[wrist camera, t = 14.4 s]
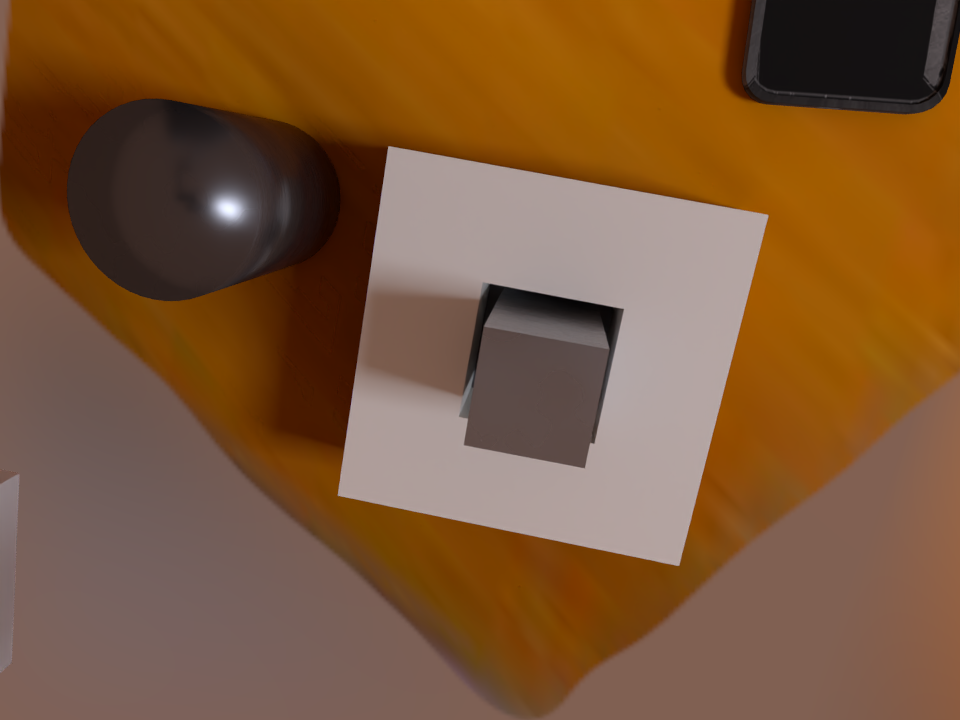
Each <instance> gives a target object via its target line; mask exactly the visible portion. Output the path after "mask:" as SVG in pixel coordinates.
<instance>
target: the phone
mask: <svg viewBox="0 0 960 720" xmlns="http://www.w3.org/2000/svg"><path fill="white" fill-rule="evenodd" d="M959 34H960V0H752V5H751V12H750V19H749V26H748V33H747V40H746V47H745V54H744V61H743V68H742V83H743V86H744V89H745V91H746V92H747V94H748V95H749V96H750V97H751V98H752V99H754V100H755V101H757V102H759V103H763V104H769V105H783V106H797V107H811V108H824V109H838V110H852V111H866V112H880V113H894V114H915V113H920V112H924V111H926V110H929V109H931V108H933V107H934V106H935V105H937V104H938V103H939V102H940V101H941V100H942V99H943V97H944V96H945V94H946V93H947V90H948V87H949V84H950V79H951V74H952V69H953V64H954V59H955V54H956V49H957V44H958V39H959Z"/></svg>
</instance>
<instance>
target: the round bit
mask: <svg viewBox="0 0 960 720" xmlns="http://www.w3.org/2000/svg"><path fill="white" fill-rule="evenodd" d="M67 200H68V208H69V213H70V217H71V221H72V225H73V227H74V230H75V233H76V235H77V238H78V239H79V241H80V243H81V245H82V247H83V249H84V250H85V252H86V253H87V255H88V256H89V258H90V259H91V260H92V261H93V263H94V264H95V265H96V266H97V267H98V268H99V269H100V270H101V271H102V272H103V273H104V274H105V275H106V276H107V277H108V278H110V279H111V280H112V281H114V282H115V283H116V284H118V285H119V286H121V287H123V288H125V289H126V290H128V291H130V292H133V293H135V294H138V295H140V296H143V297H147V298H151V299H155V300H163V301H180V300H187V299H192V298H195V297H198V296H202V295H205V294H208V293H211V292H214V291H217V290H220V289H223V288H226V287H229V286H232V285H235V284H238V283H241V282H244V281H247V280H250V279H253V278H256V277H259V276H262V275H265V274H268V273H271V272H274V271H277V270H280V269H283V268H286V267H289V266H292V265H296V264H298V263H300V262H302V261H305V260H306V259H308V258H310V257H311V256H313V255H314V254H315V253H316V252H317V251H319V250H320V249H321V247H322V246H323V245H324V244H325V243H326V242H327V240H328V239H329V237H330V236H331V234H332V232H333V230H334V228H335V225H336V222H337V219H338V215H339V210H340V187H339V182H338V178H337V174H336V171H335V169H334V166H333V164H332V162H331V160H330V158H329V157H328V155H327V154H326V152H325V151H324V150H323V148H322V147H321V146H320V145H319V144H318V143H317V142H316V141H315V140H314V139H313V138H312V137H311V136H310V135H308V134H307V133H306V132H304V131H302V130H301V129H299V128H297V127H295V126H292V125H290V124H287V123H284V122H280V121H275V120H270V119H265V118H260V117H255V116H249V115H244V114H239V113H234V112H229V111H224V110H218V109H213V108H208V107H203V106H198V105H192V104H187V103H182V102H177V101H172V100H164V99H143V100H137V101H132V102H129V103H126V104H123V105H120V106H118V107H116V108H114V109H112V110H111V111H109V112H107V113H106V114H105V115H103V116H102V117H100V118H99V119H98V120H97V121H96V122H95V123H94V124H93V125H92V126H91V127H90V128H89V129H88V131H87V132H86V133H85V135H84V136H83V137H82V139H81V141H80V143H79V144H78V146H77V148H76V150H75V153H74V155H73V158H72V161H71V165H70V169H69V173H68V182H67Z"/></svg>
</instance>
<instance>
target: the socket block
mask: <svg viewBox="0 0 960 720" xmlns="http://www.w3.org/2000/svg"><path fill="white" fill-rule="evenodd" d="M767 219H768V215H765V214H760V213H755V212H750V211H745V210H739V209H734V208H728V207H723V206H717V205H712V204H706V203H701V202H695V201H690V200H684V199H679V198H673V197H668V196H662V195H657V194H651V193H646V192H640V191H635V190H629V189H624V188H618V187H612V186H607V185H601V184H596V183H590V182H585V181H579V180H574V179H568V178H563V177H557V176H552V175H546V174H541V173H535V172H530V171H524V170H519V169H513V168H508V167H502V166H497V165H491V164H486V163H480V162H475V161H469V160H464V159H458V158H452V157H447V156H441V155H436V154H430V153H425V152H419V151H414V150H408V149H402V148H396V147H390V146H388V153H387V160H386V167H385V173H384V180H383V187H382V194H381V201H380V208H379V215H378V222H377V229H376V236H375V242H374V249H373V256H372V263H371V270H370V277H369V284H368V291H367V298H366V304H365V311H364V318H363V325H362V332H361V339H360V346H359V353H358V360H357V366H356V373H355V380H354V387H353V394H352V401H351V408H350V415H349V422H348V429H347V435H346V442H345V449H344V456H343V463H342V470H341V477H340V484H339V491H338V496H342V497H347V498H352V499H357V500H362V501H367V502H371V503H376V504H381V505H386V506H391V507H396V508H400V509H405V510H410V511H415V512H420V513H425V514H430V515H434V516H439V517H444V518H449V519H454V520H459V521H463V522H468V523H473V524H478V525H483V526H488V527H493V528H497V529H502V530H507V531H512V532H517V533H522V534H526V535H531V536H536V537H541V538H546V539H551V540H556V541H560V542H565V543H570V544H575V545H580V546H585V547H589V548H594V549H599V550H604V551H609V552H614V553H619V554H623V555H628V556H633V557H638V558H643V559H648V560H653V561H657V562H662V563H667V564H672V565H677V566H679V564H680V560H681V556H682V552H683V548H684V544H685V540H686V536H687V532H688V528H689V525H690V521H691V517H692V513H693V509H694V505H695V501H696V497H697V493H698V489H699V485H700V481H701V478H702V474H703V470H704V466H705V462H706V458H707V454H708V450H709V446H710V442H711V438H712V434H713V430H714V427H715V423H716V419H717V415H718V411H719V407H720V403H721V399H722V395H723V391H724V387H725V383H726V380H727V376H728V372H729V368H730V364H731V360H732V356H733V352H734V348H735V344H736V340H737V336H738V332H739V329H740V325H741V321H742V317H743V313H744V309H745V305H746V301H747V297H748V293H749V289H750V285H751V282H752V278H753V274H754V270H755V266H756V262H757V258H758V254H759V250H760V246H761V242H762V238H763V235H764V231H765V227H766V223H767ZM504 287H511V288H516V289H521V290H526V291H532V292H537V293H542V294H547V295H553V296H558V297H563V298H569V299H574V300H579V301H584V302H590V303H595V304H597V305H598V308H599V312H600V316H601V319H602V323H603V327H604V330H605V334H606V338H607V342H608V345H609V349H610V350H609V355H608V360H607V364H606V369H605V374H604V379H603V384H602V388H601V393H600V398H599V403H598V408H597V413H596V417H595V422H594V427H593V432H592V437H591V441H590V446H589V451H588V456H587V461H586V465H585V468H580V467H575V466H570V465H564V464H559V463H554V462H549V461H544V460H538V459H533V458H528V457H523V456H517V455H512V454H507V453H502V452H496V451H491V450H486V449H481V448H475V447H470V446H465V445H464V440H465V434H466V428H467V422H468V416H469V411H470V405H471V399H472V393H473V387H474V381H475V375H476V369H477V363H478V358H479V352H480V346H481V340H482V334H483V328H484V325H485V323H486V321H487V319H488V317H489V316H490V314H491V312H492V310H493V308H494V306H495V304H496V302H497V300H498V298H499V296H500V295H501V293H502V291H503V289H504Z"/></svg>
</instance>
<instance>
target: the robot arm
mask: <svg viewBox="0 0 960 720" xmlns="http://www.w3.org/2000/svg"><path fill="white" fill-rule="evenodd" d="M18 492H19V473H16V472H11V471H6V470H1V469H0V673H1V672H2V671H3V670H4V669H5V668H6V667H7V666H8V665H9V664H11V662H12V641H13V617H14V591H15V568H16V542H17V518H18V517H17V516H18V494H19V493H18Z"/></svg>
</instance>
